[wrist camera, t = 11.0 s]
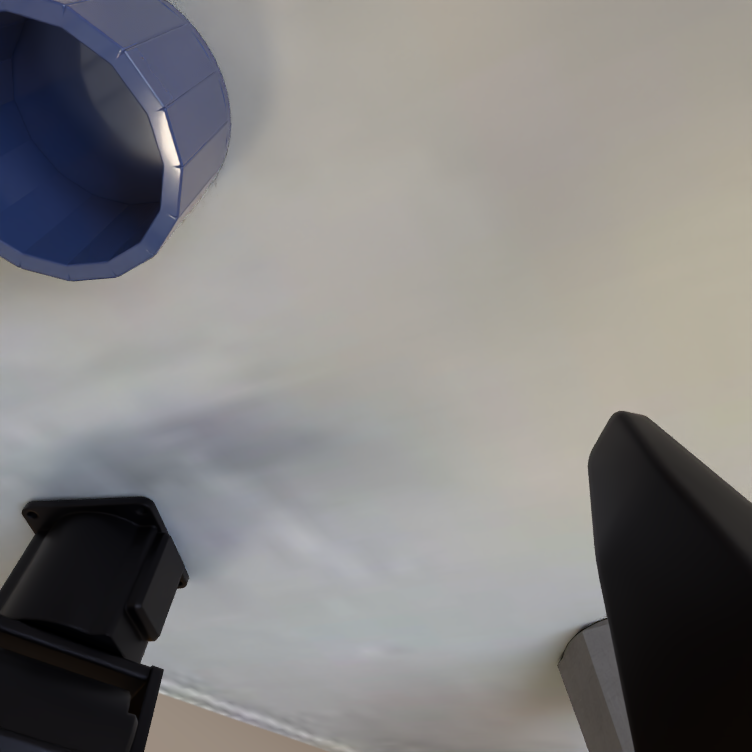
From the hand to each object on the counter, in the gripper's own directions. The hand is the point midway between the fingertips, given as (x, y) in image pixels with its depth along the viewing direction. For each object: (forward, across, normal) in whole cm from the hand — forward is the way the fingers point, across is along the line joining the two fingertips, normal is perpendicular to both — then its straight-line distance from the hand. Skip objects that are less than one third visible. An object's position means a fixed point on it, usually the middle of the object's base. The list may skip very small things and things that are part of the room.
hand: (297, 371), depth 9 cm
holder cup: (+13, +7, +1) cm, 15 cm away
